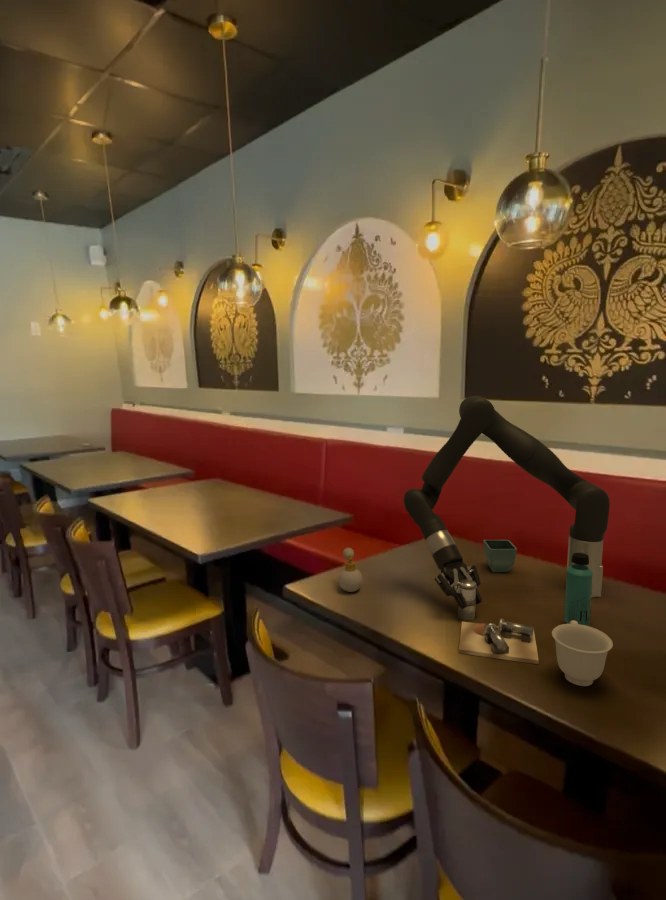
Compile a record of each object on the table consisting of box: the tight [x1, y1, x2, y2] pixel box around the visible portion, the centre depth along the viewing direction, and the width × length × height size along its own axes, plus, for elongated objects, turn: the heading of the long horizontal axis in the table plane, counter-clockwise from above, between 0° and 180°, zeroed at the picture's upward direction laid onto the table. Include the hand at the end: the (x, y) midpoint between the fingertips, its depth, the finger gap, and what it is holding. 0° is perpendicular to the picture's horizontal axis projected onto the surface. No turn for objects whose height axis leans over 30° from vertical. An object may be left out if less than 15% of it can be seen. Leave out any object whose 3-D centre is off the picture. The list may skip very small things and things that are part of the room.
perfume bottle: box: [338, 547, 364, 593], centre depth 162 cm, size 8×10×12 cm
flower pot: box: [483, 539, 518, 573], centre depth 175 cm, size 9×9×9 cm
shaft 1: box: [484, 622, 509, 654], centre depth 127 cm, size 8×4×4 cm, turn 3°
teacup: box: [551, 620, 614, 687], centre depth 116 cm, size 12×15×10 cm
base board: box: [458, 621, 539, 665], centre depth 130 cm, size 18×14×1 cm
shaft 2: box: [498, 617, 535, 643], centre depth 131 cm, size 8×4×4 cm, turn 63°
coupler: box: [458, 579, 477, 621], centre depth 143 cm, size 5×5×10 cm
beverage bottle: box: [563, 553, 593, 626], centre depth 136 cm, size 6×7×20 cm
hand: (471, 605), depth 142 cm, fingers closed on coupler, 4 cm apart
